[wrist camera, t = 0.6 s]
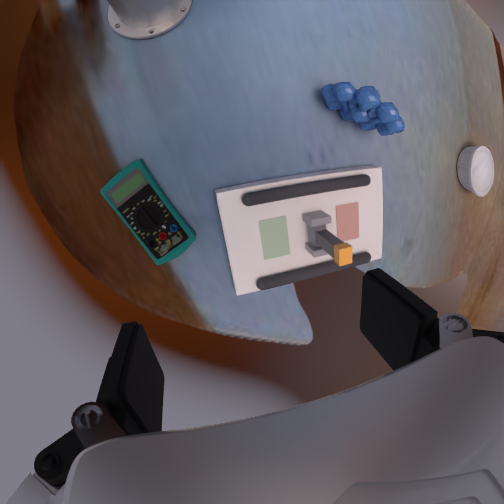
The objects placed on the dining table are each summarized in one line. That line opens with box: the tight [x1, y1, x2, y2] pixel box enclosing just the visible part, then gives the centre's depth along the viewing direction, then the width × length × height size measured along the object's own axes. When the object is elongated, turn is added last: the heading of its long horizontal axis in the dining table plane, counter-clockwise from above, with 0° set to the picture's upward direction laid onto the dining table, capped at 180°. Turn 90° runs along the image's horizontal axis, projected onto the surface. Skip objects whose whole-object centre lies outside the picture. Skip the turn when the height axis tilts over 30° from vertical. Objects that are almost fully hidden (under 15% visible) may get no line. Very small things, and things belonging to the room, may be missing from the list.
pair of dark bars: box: [242, 174, 371, 290], centre depth 41 cm, size 15×20×2 cm
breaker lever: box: [309, 224, 352, 266], centre depth 37 cm, size 3×2×10 cm
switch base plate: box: [215, 165, 383, 296], centre depth 41 cm, size 16×26×6 cm, turn 100°
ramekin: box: [457, 145, 494, 197], centre depth 44 cm, size 11×11×5 cm
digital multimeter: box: [100, 159, 196, 265], centre depth 38 cm, size 7×15×3 cm, turn 32°
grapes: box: [321, 82, 405, 136], centre depth 33 cm, size 12×7×12 cm, turn 63°
